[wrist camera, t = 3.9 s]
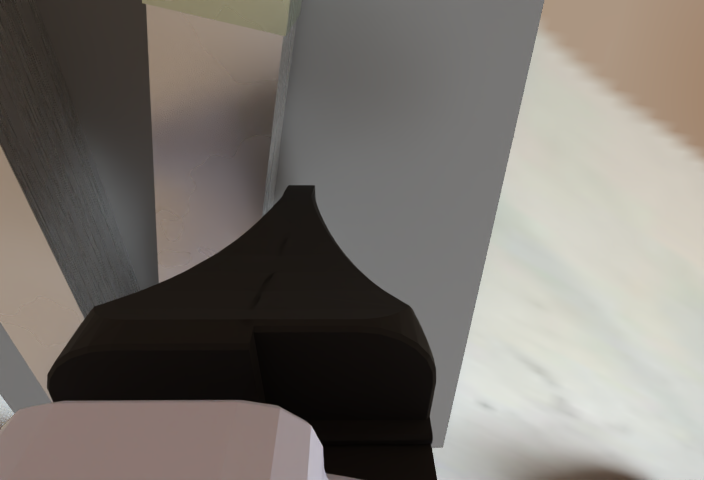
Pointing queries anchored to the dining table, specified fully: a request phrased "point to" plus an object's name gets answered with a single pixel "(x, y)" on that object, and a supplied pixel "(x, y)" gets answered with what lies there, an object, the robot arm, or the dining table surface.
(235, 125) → the hinged arm
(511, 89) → the mat
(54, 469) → the robot arm
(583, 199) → the dining table surface
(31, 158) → the fixed arm
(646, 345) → the dining table surface
